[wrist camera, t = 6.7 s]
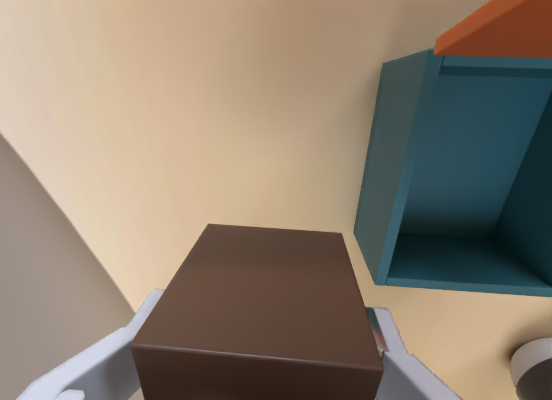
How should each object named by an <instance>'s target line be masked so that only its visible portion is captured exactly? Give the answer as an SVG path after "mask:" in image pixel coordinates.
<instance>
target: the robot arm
mask: <svg viewBox="0 0 552 400" xmlns="http://www.w3.org/2000/svg"><path fill="white" fill-rule="evenodd" d="M164 291H165V290H163V289H155V290H153V291H152V292H151V293H150V295H149V296H148V297H147V299H146V300H145V302H144V303H143V304H142V306H141V307H140V309H139V310H138V311H137V313H136V314H135V315H134V317H133V318H132V320H131V321H130V322H129V324H128V325H127V327H126V328H125V327H121V328H119V329H118V330H116V331H115V332H113V333H111V334H110V335H108V336H106V337H105V338H103V339H101V340H100V341H98V342H97V343H95V344H94V345H92V346H90V347H89V348H87V349H85V350H84V351H82V352H80V353H79V354H77V355H75V356H74V357H72V358H71V359H69V360H67V361H66V362H64V363H62V364H61V365H59V366H58V367H56V368H54V369H53V370H51V371H49V372H48V373H46V374H45V375H43V376H41V377H40V378H38V379H36V380H35V381H33V382H31V383H30V384H29V385H28V387H27V388H26V389H25V390H24V391H23V392H22V393H21V394H20V395H19V396H18V398H17V399H16V400H128V399H129V398H130V397H131V396H132V395H133V394H134V393H135V392H136V391H137V390H138V389H139V388H140V387H141V385H140V382H139V378H138V375H137V371H136V368H135V364H134V360H133V357H132V353H131V350H130V343H131V342H132V340H133V339H134V337H135V336H136V334H137V332H138V331H139V329H140V328H141V326H142V325H143V323H144V322H145V320H146V319H147V317H148V316H149V314H150V312H151V311H152V309H153V308H154V306H155V305H156V303H157V302H158V300H159V299H160V297H161V296H162V294H163V292H164ZM365 309H366V312H367V315H368V318H369V322H370V325H371V328H372V331H373V334H374V338H375V341H376V344H377V347H378V350H379V353H380V357H381V360H382V363H383V366H384V373H383V376H382V379H381V383H380V386H379V389H378V392H377V395H376V398H375V399H376V400H462V399H461V398H460V397H459V396H458V395H457V394H456V393H454V392H453V391H452V390H451V389H450V388H449V387H448V386H447V385H446V384H445V383H444V382H443V381H441V380H440V379H439V378H438V377H437V376H436V375H435V374H434V373H433V372H432V371H431V370H430V369H428V368H427V367H426V366H425V365H424V364H423V363H422V362H421V361H420V360H419V359H418V358H417V357H415V356H414V355H413V354H408V352H407V350H406V348H405V345H404V343H403V341H402V338H401V336H400V334H399V331H398V329H397V327H396V324H395V322H394V320H393V317H392V315H391V313H390V311H389V310H388V309H387V308H376V307H372V308H371V307H365Z"/></svg>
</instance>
